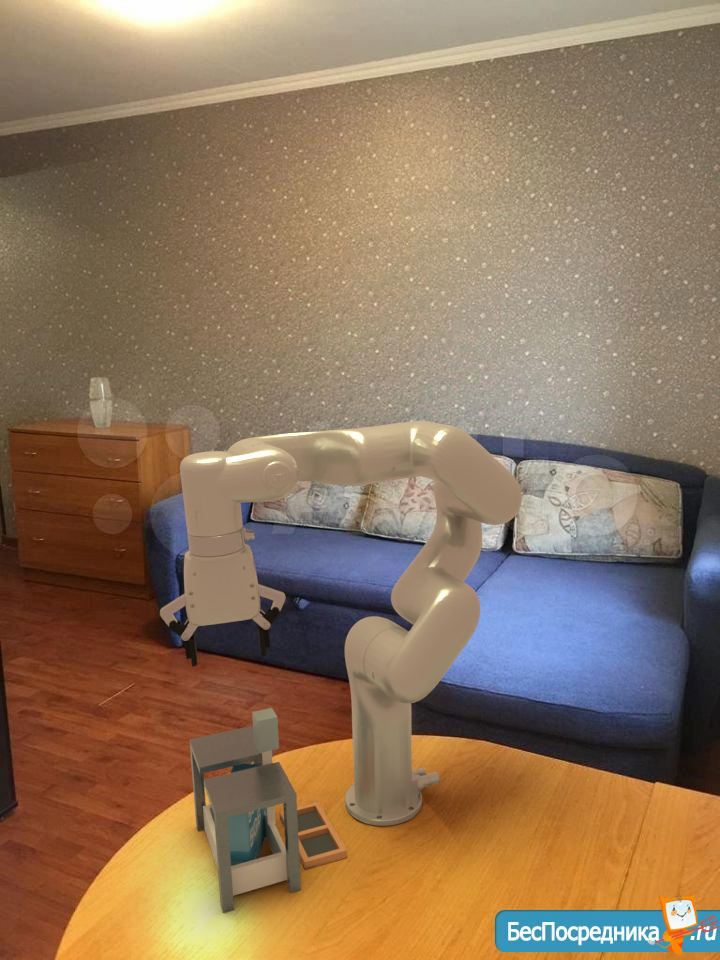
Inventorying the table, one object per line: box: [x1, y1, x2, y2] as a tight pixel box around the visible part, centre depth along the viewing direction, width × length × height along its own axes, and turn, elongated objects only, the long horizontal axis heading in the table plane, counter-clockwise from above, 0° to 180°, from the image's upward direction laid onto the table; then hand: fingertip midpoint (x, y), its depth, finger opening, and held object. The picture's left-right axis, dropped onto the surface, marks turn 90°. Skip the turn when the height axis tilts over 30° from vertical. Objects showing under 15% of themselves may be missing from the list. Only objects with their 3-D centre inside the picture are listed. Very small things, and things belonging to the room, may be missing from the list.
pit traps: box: [279, 801, 348, 870], centre depth 120 cm, size 6×13×1 cm, turn 22°
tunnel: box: [189, 725, 302, 914], centre depth 115 cm, size 11×20×15 cm, turn 22°
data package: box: [228, 763, 266, 866], centre depth 115 cm, size 12×4×12 cm, turn 175°
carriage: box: [203, 707, 287, 897], centre depth 114 cm, size 10×16×22 cm, turn 22°
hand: (229, 657), depth 110 cm, fingers open, 9 cm apart
